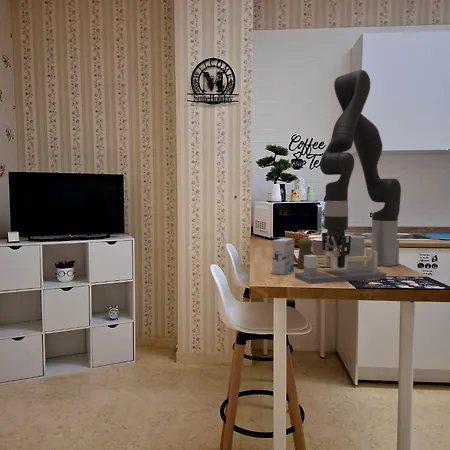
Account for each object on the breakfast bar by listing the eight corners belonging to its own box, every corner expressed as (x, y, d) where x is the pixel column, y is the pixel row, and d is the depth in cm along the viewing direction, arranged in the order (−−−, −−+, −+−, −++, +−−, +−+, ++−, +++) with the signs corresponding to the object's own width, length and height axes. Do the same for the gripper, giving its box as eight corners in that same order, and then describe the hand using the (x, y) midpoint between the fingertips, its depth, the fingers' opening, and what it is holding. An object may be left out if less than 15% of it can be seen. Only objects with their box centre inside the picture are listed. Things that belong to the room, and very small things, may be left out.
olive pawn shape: (313, 269, 150) (313, 239, 149) (296, 269, 151) (296, 239, 150) (313, 266, 156) (313, 238, 155) (296, 266, 157) (297, 237, 156)
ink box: (281, 269, 151) (282, 237, 150) (294, 271, 148) (295, 238, 147) (271, 273, 143) (271, 240, 142) (285, 275, 141) (285, 240, 140)
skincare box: (364, 268, 153) (365, 236, 152) (364, 270, 149) (365, 237, 148) (347, 267, 155) (347, 235, 154) (346, 269, 151) (347, 236, 150)
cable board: (367, 272, 145) (367, 248, 144) (386, 278, 136) (386, 252, 135) (295, 277, 137) (295, 251, 136) (309, 283, 128) (309, 256, 127)
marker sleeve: (336, 265, 139) (337, 250, 139) (347, 268, 133) (347, 253, 133) (323, 265, 138) (323, 251, 137) (333, 269, 132) (333, 253, 131)
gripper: (359, 215, 128) (358, 269, 130) (334, 213, 142) (333, 261, 143) (338, 216, 126) (337, 270, 127) (314, 213, 140) (314, 262, 141)
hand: (335, 265), depth 135 cm, fingers closed on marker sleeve, 6 cm apart
